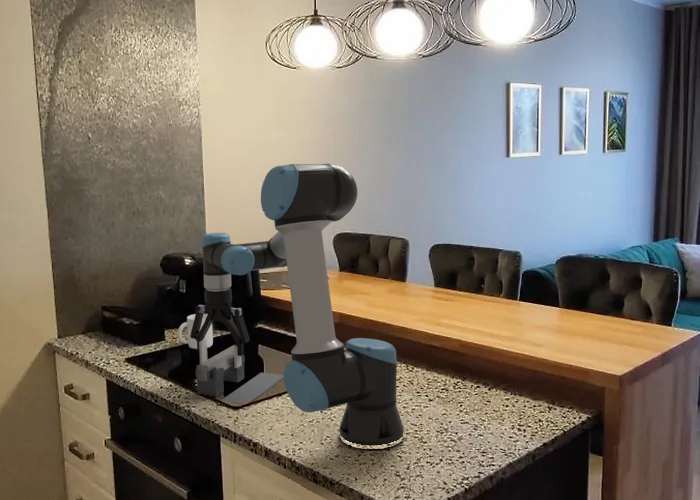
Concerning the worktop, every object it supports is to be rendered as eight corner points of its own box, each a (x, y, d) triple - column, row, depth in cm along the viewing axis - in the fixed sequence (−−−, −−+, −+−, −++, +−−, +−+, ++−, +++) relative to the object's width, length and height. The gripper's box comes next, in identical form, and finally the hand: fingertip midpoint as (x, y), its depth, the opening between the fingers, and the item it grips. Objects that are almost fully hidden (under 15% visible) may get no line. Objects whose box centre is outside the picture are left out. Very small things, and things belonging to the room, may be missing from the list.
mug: (182, 352, 228) (180, 322, 226) (174, 346, 235) (172, 317, 233) (216, 346, 234) (215, 317, 233) (208, 341, 241) (206, 312, 240)
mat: (243, 408, 180) (243, 407, 180) (216, 404, 182) (216, 403, 182) (285, 376, 204) (285, 375, 204) (261, 373, 207) (261, 372, 207)
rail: (207, 381, 186) (206, 366, 185) (197, 379, 187) (196, 365, 186) (242, 359, 205) (242, 345, 204) (233, 358, 206) (233, 345, 205)
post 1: (217, 397, 188) (216, 372, 187) (196, 394, 190) (195, 369, 189) (224, 392, 192) (223, 367, 191) (204, 389, 194) (203, 365, 193)
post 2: (238, 382, 199) (237, 359, 198) (218, 380, 201) (217, 357, 200) (245, 378, 203) (244, 355, 202) (225, 375, 205) (224, 353, 204)
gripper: (261, 288, 192) (263, 364, 195) (189, 283, 199) (193, 356, 203) (248, 293, 185) (250, 372, 188) (175, 288, 192) (178, 364, 196)
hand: (220, 364), depth 196 cm, fingers open, 10 cm apart
